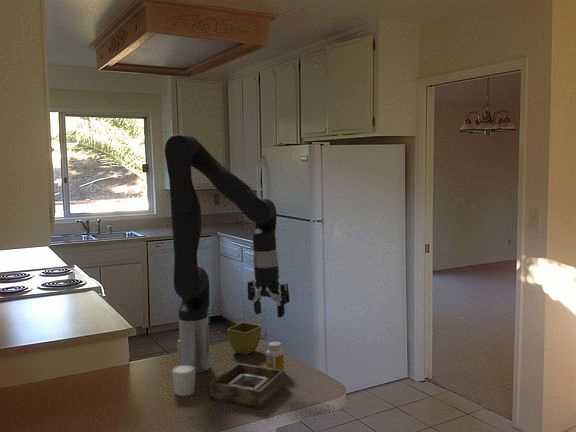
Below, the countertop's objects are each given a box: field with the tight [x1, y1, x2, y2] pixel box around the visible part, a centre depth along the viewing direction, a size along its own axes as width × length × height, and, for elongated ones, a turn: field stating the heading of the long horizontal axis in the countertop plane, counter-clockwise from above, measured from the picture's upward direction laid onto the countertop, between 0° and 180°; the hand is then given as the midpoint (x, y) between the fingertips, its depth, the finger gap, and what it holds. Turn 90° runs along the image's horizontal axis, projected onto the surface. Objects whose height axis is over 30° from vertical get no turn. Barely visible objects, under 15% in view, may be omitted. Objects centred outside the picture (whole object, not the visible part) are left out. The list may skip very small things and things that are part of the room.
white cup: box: [171, 365, 196, 397], centre depth 161 cm, size 7×7×7 cm
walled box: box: [209, 362, 286, 410], centre depth 159 cm, size 16×16×5 cm
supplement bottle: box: [265, 341, 285, 370], centre depth 172 cm, size 5×5×10 cm
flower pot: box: [227, 322, 262, 356], centre depth 192 cm, size 9×9×9 cm
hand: (269, 315), depth 170 cm, fingers open, 8 cm apart
